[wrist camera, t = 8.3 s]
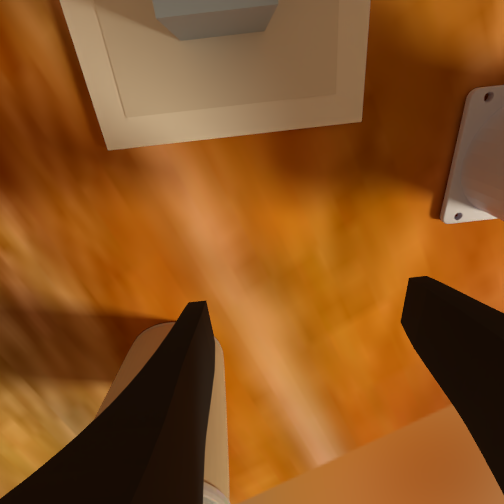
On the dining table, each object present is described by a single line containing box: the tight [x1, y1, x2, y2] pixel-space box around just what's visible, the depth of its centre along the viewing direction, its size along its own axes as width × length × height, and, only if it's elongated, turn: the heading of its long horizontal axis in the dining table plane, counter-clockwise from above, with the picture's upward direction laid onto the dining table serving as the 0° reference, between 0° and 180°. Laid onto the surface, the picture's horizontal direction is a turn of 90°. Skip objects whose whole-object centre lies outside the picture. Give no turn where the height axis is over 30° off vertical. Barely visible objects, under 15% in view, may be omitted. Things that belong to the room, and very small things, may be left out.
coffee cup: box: [94, 322, 230, 504], centre depth 20 cm, size 9×9×12 cm
